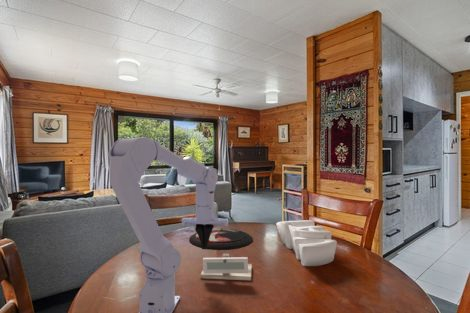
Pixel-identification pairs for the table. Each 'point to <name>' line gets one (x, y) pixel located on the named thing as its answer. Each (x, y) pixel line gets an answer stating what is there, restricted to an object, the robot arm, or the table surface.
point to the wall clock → (224, 239)
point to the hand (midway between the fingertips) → (205, 248)
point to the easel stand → (229, 274)
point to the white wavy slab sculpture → (308, 241)
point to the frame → (225, 265)
